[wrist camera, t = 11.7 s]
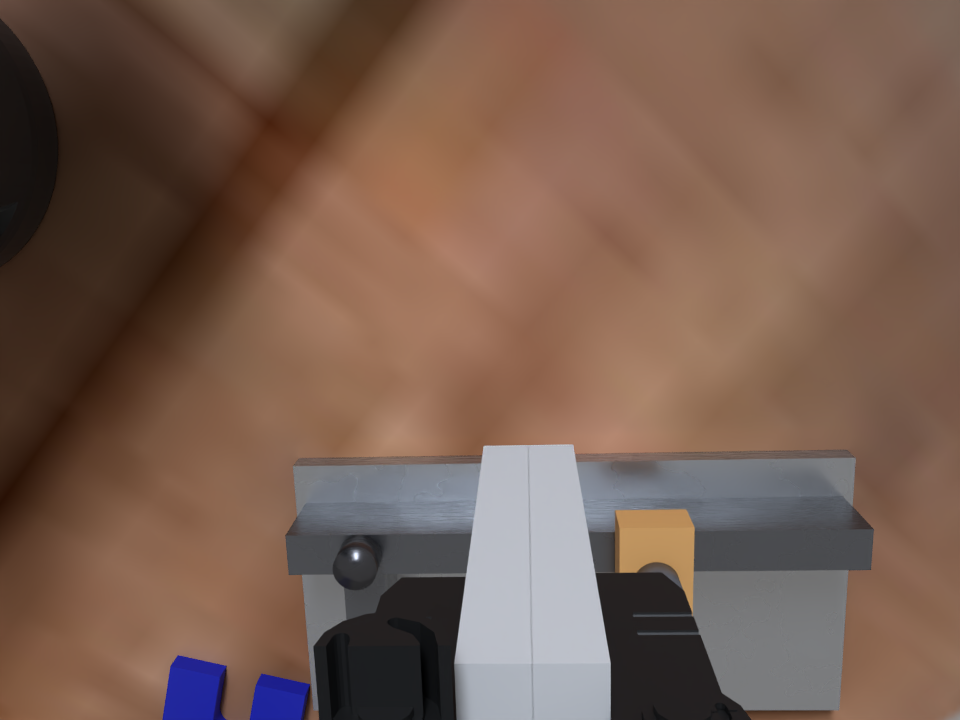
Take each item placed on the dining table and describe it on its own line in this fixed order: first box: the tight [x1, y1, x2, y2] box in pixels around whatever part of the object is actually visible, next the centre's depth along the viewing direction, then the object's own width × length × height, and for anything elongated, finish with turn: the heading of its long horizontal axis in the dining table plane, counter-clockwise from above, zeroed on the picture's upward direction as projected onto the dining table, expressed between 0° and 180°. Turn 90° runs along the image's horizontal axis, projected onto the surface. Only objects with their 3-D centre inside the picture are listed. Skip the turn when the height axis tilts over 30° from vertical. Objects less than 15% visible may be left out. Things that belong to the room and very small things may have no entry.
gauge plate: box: [286, 450, 874, 710], centre depth 44 cm, size 28×14×7 cm, turn 92°
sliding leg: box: [615, 509, 695, 616], centre depth 42 cm, size 3×11×7 cm, turn 2°
